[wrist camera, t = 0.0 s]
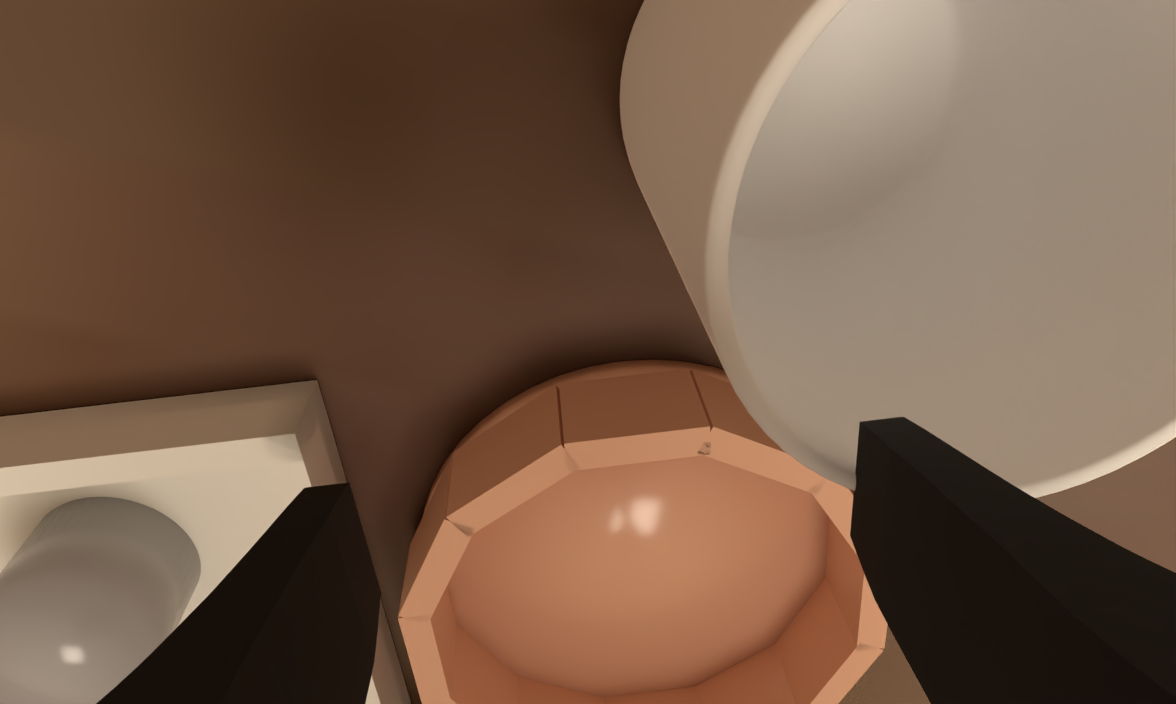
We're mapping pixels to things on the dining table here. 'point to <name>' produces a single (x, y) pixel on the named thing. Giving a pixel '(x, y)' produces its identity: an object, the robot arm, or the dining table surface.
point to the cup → (923, 218)
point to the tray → (184, 475)
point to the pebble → (90, 599)
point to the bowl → (634, 554)
